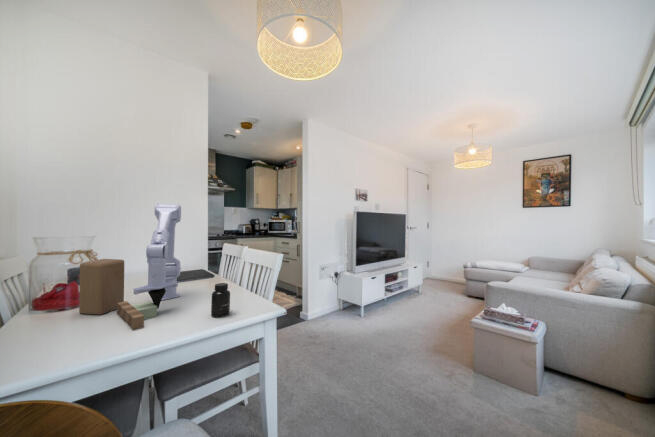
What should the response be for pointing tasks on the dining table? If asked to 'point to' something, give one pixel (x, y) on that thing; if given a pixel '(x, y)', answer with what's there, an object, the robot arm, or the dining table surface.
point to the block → (101, 286)
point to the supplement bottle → (220, 300)
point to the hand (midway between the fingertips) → (156, 308)
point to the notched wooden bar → (130, 315)
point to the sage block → (147, 309)
